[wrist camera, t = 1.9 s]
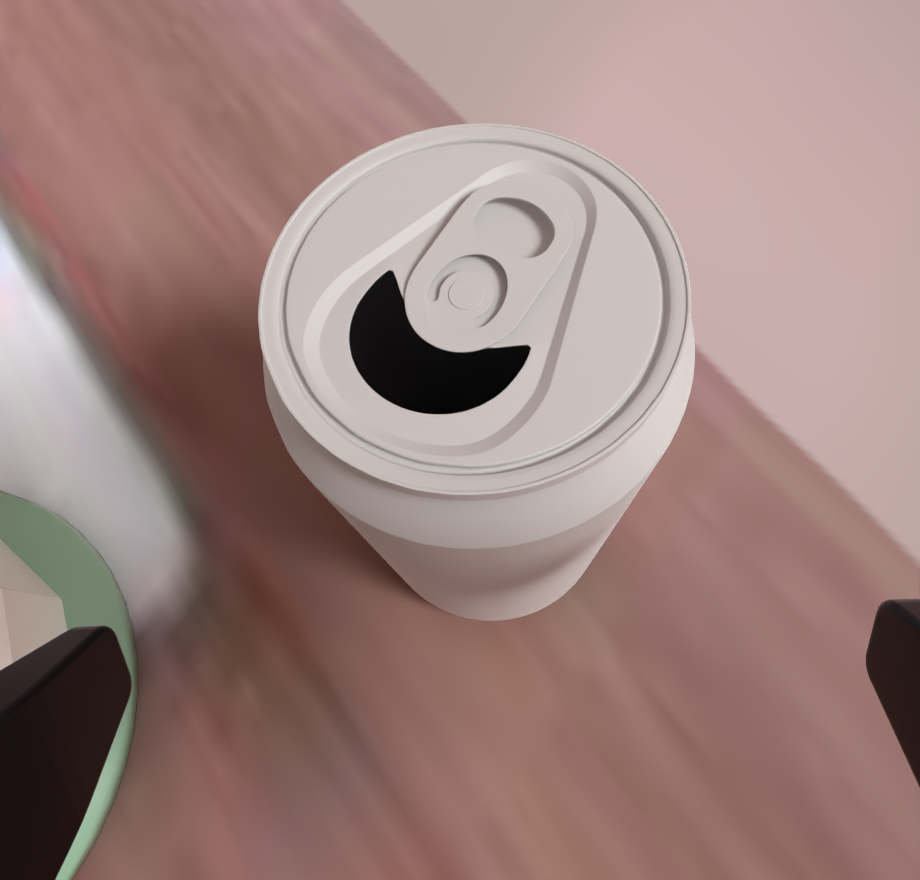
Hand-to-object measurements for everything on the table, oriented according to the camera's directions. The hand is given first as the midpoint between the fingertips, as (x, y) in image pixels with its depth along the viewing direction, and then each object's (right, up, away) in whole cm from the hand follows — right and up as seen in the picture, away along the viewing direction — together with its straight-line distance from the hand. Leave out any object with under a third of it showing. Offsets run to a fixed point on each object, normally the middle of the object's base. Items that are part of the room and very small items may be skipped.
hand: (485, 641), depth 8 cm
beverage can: (+1, 0, +12) cm, 12 cm away
